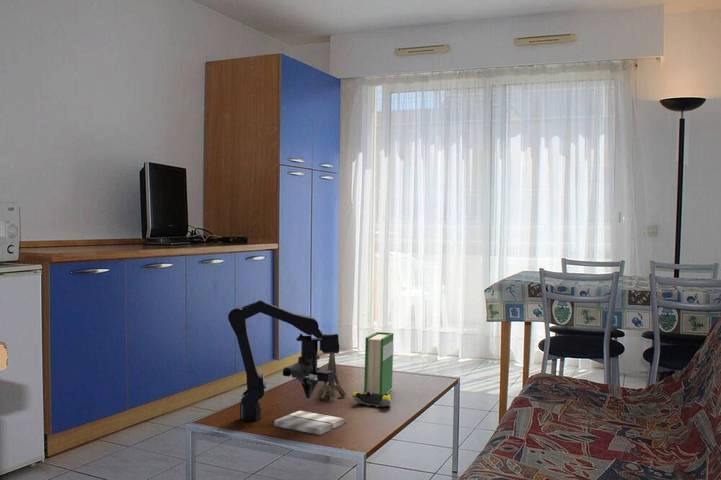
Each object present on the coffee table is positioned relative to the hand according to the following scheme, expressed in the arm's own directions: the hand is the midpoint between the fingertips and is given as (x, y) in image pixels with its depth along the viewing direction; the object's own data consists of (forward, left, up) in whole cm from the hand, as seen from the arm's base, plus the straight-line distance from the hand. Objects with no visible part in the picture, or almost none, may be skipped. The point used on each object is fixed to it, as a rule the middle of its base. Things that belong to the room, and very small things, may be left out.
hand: (308, 398), depth 228 cm
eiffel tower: (-10, +32, -8) cm, 35 cm away
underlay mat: (+5, -6, -8) cm, 11 cm away
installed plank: (+5, -10, -8) cm, 14 cm away
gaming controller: (+10, +31, -8) cm, 33 cm away
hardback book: (+2, +50, -8) cm, 51 cm away
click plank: (+5, -2, -7) cm, 9 cm away
